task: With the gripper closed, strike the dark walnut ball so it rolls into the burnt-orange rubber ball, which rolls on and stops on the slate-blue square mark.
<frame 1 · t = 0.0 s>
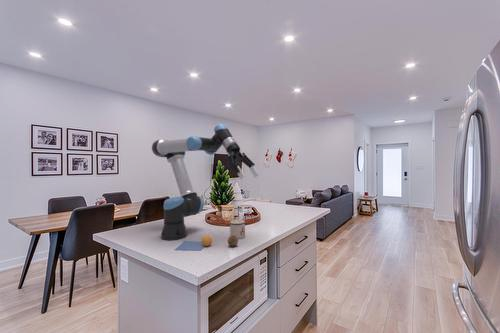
hand: (250, 177, 128), 36 cm above the table, tool tilted 35°, fingers open, 13 cm apart
orange ball: (206, 240, 125), on the table
walnut ball: (232, 240, 124), on the table
mark: (192, 245, 126), on the table
teacup with lid: (238, 236, 142), on the table
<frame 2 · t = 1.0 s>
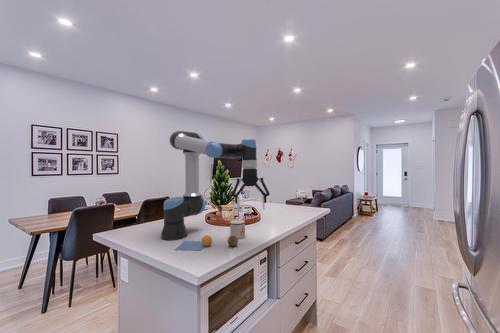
hand: (251, 209, 123), 19 cm above the table, tool pointing down, fingers open, 12 cm apart
nothing on the table moved.
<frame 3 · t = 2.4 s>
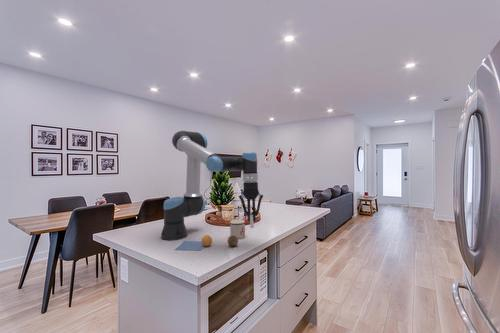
hand: (252, 227, 123), 10 cm above the table, tool pointing down, fingers closed
nothing on the table moved.
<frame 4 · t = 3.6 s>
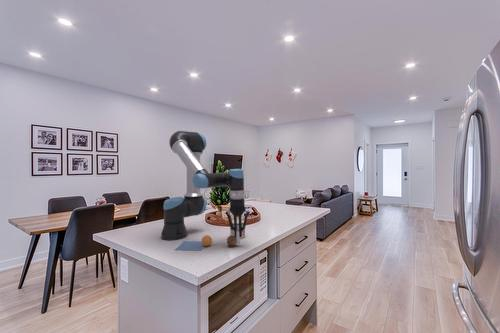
hand: (238, 243, 124), 2 cm above the table, tool pointing down, fingers closed
walnut ball: (231, 241, 124), on the table, touching gripper
everything else where it was.
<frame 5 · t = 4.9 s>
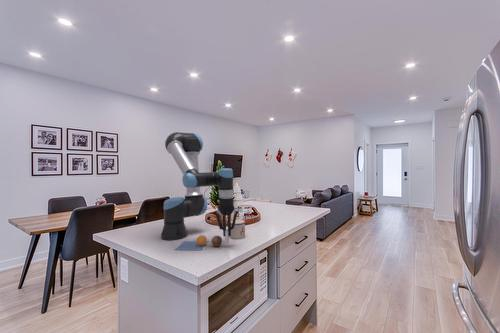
hand: (227, 242, 124), 2 cm above the table, tool pointing down, fingers closed
orange ball: (201, 240, 126), on the table
walnut ball: (216, 240, 124), on the table
everything else where it was.
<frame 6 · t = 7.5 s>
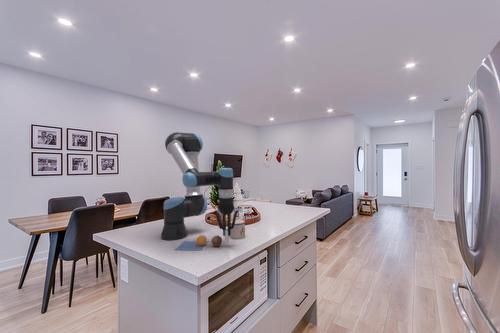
hand: (227, 241, 124), 2 cm above the table, tool pointing down, fingers closed
nothing on the table moved.
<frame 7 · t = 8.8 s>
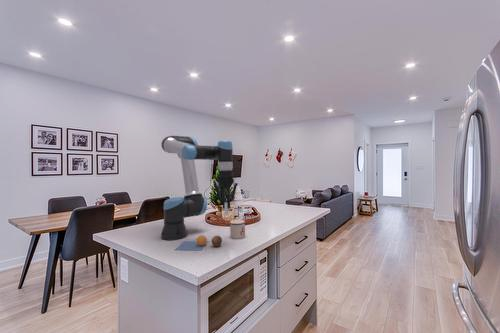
hand: (226, 214, 124), 16 cm above the table, tool pointing down, fingers closed
nothing on the table moved.
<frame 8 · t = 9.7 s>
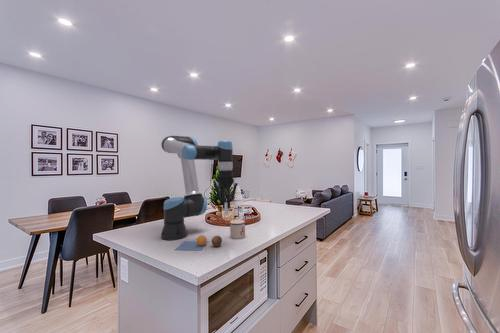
hand: (226, 214, 124), 16 cm above the table, tool pointing down, fingers closed
nothing on the table moved.
at the end: orange ball 5.1 cm from the mark (horizontally); orange ball never touched the robot; walnut ball first touched orange ball at 4.0 s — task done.
